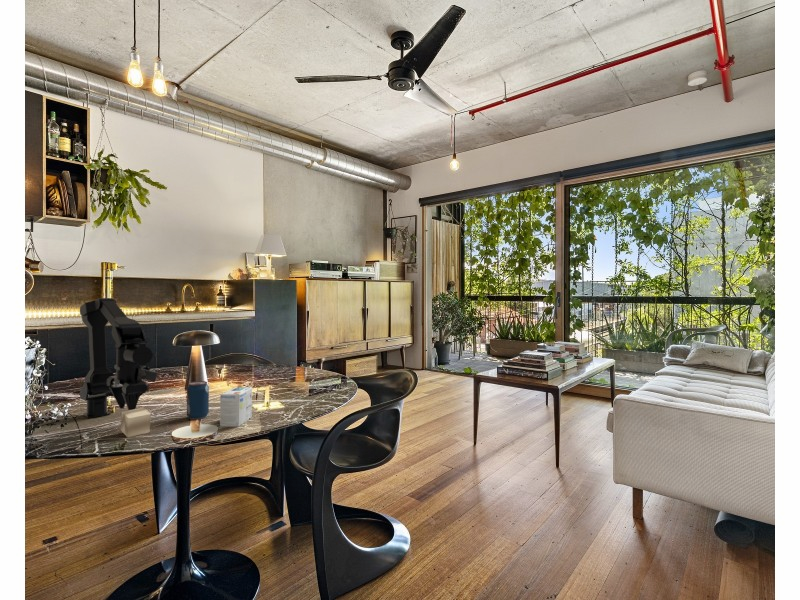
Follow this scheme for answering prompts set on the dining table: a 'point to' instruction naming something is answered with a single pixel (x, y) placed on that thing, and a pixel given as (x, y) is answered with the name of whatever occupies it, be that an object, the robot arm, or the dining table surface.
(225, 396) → the light bulb box
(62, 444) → the dining table surface
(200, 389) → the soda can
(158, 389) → the dining table surface
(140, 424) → the maple block
